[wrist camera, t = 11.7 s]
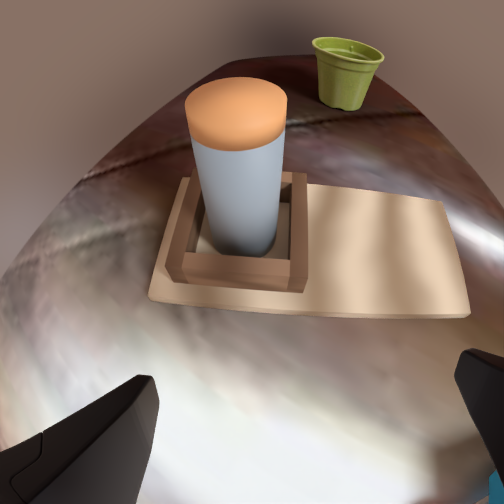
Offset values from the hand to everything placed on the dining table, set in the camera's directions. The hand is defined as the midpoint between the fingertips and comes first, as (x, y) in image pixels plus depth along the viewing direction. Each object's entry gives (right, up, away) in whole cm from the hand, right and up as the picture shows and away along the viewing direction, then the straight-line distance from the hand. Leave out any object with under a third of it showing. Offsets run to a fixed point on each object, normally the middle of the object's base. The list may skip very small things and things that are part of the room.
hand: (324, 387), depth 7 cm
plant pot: (+10, +25, +30) cm, 40 cm away
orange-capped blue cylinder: (-2, +5, +16) cm, 17 cm away
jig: (+4, +4, +17) cm, 18 cm away
